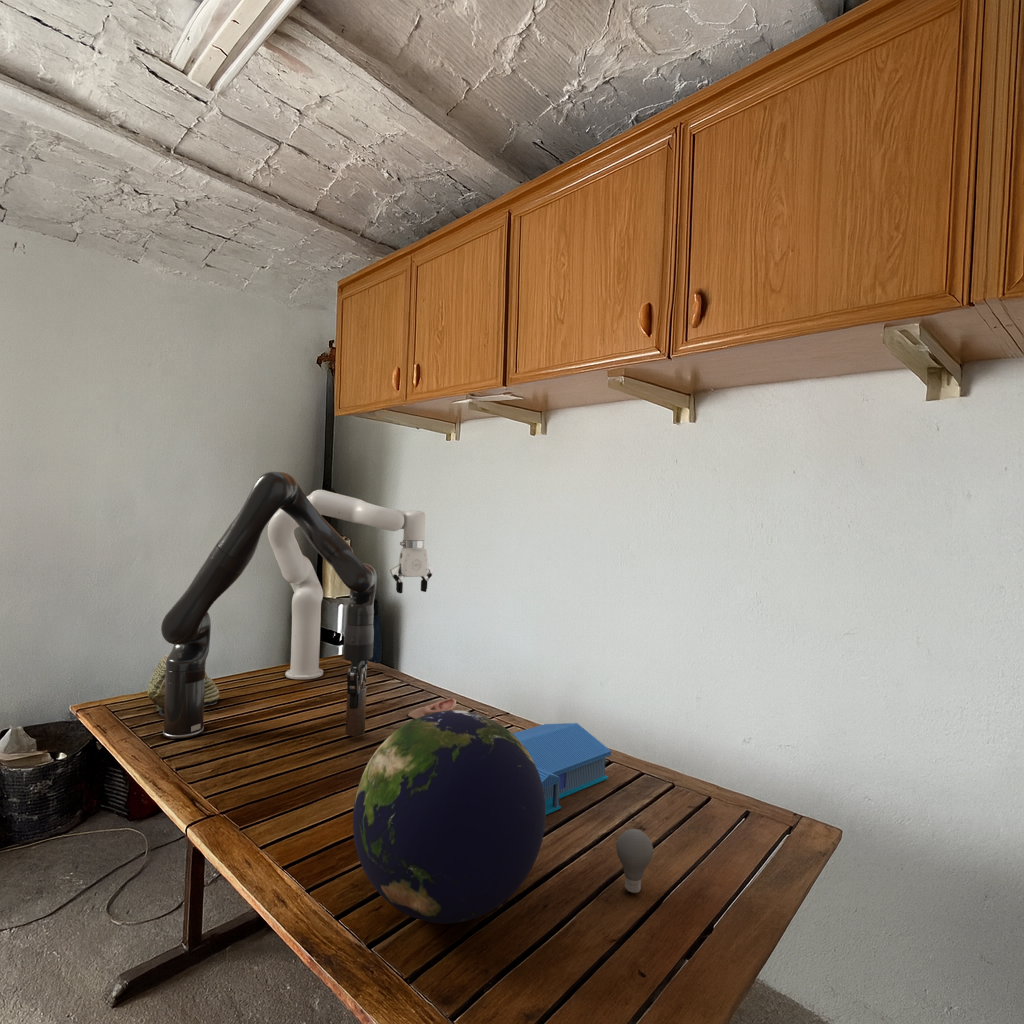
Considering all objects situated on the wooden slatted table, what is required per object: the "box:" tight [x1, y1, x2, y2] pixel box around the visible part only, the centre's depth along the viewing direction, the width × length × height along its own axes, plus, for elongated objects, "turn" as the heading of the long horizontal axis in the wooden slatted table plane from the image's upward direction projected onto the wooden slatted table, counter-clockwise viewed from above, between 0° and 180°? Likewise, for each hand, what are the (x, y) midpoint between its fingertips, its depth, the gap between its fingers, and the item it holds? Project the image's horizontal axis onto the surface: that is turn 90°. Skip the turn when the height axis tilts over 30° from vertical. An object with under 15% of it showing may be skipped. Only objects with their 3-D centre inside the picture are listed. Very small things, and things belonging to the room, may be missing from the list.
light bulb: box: [615, 828, 654, 894], centre depth 106 cm, size 6×6×10 cm
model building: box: [512, 722, 612, 816], centre depth 142 cm, size 39×24×10 cm, turn 132°
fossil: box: [147, 654, 221, 712], centre depth 185 cm, size 9×18×15 cm, turn 132°
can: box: [344, 684, 368, 737], centre depth 166 cm, size 5×5×12 cm
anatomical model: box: [407, 698, 457, 719], centre depth 186 cm, size 13×4×12 cm
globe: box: [352, 709, 547, 925], centre depth 100 cm, size 30×30×30 cm
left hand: (356, 704), depth 166 cm, fingers closed on can, 5 cm apart
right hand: (411, 592), depth 229 cm, fingers open, 9 cm apart
